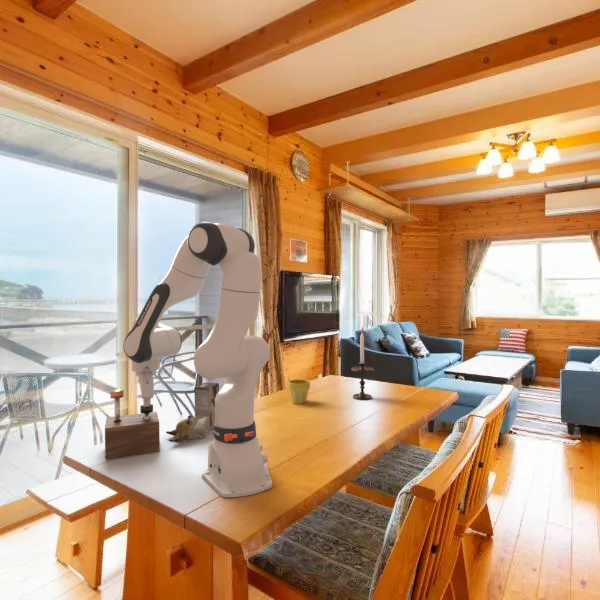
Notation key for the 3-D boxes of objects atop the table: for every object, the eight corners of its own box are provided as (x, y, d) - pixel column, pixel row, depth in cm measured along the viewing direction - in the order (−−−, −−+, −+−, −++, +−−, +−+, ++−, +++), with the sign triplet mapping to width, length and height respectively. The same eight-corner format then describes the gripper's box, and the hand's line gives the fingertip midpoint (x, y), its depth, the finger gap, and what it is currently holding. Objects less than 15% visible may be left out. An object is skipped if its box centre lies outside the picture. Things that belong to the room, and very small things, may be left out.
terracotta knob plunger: (124, 431, 131) (123, 391, 131) (110, 433, 130) (110, 392, 130) (124, 427, 135) (123, 388, 135) (111, 429, 133) (110, 390, 133)
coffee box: (204, 422, 162) (204, 382, 162) (219, 423, 161) (219, 382, 161) (194, 429, 153) (194, 387, 153) (210, 430, 152) (209, 388, 152)
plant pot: (314, 400, 192) (314, 380, 192) (302, 406, 184) (302, 384, 183) (295, 398, 198) (295, 378, 198) (283, 403, 189) (283, 382, 189)
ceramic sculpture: (211, 415, 142) (167, 424, 136) (213, 440, 142) (169, 449, 136) (206, 408, 151) (164, 415, 145) (208, 431, 152) (166, 439, 146)
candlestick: (357, 393, 205) (357, 324, 204) (377, 397, 199) (377, 325, 198) (347, 398, 196) (346, 326, 196) (367, 401, 190) (367, 327, 189)
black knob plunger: (153, 445, 135) (153, 406, 135) (141, 447, 134) (140, 408, 133) (153, 441, 139) (152, 403, 138) (140, 443, 137) (140, 404, 137)
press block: (159, 451, 132) (159, 421, 132) (105, 460, 126) (104, 428, 125) (157, 439, 143) (156, 411, 143) (106, 446, 137) (106, 417, 136)
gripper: (158, 369, 127) (158, 413, 128) (154, 359, 146) (154, 397, 146) (136, 370, 125) (137, 415, 125) (135, 360, 144) (135, 399, 144)
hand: (146, 405), depth 136 cm, fingers closed, pressing on black knob plunger
